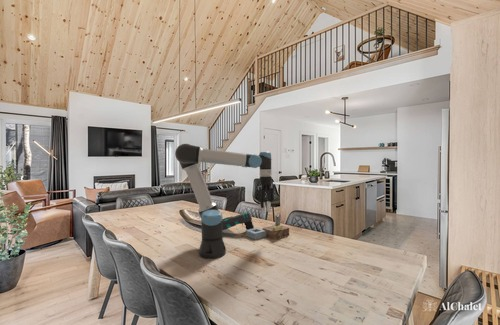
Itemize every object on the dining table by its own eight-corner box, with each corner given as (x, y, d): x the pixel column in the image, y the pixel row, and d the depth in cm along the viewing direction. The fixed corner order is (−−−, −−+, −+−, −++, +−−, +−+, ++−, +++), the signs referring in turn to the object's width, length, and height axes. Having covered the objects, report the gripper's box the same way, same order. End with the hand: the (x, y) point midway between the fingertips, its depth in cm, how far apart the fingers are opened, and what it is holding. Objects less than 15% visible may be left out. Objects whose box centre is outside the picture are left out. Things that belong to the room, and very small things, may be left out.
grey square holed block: (255, 239, 159) (255, 233, 159) (245, 236, 167) (245, 230, 167) (266, 236, 165) (266, 230, 165) (257, 233, 173) (256, 227, 173)
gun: (255, 231, 173) (248, 211, 173) (216, 243, 174) (210, 224, 174) (255, 228, 180) (248, 209, 180) (218, 240, 181) (211, 221, 181)
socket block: (274, 239, 159) (274, 231, 159) (262, 235, 168) (262, 227, 168) (289, 235, 168) (289, 227, 168) (276, 231, 177) (276, 224, 177)
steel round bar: (277, 235, 167) (277, 216, 167) (274, 234, 169) (274, 215, 169) (281, 234, 169) (281, 216, 169) (277, 233, 172) (277, 215, 171)
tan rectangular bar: (274, 231, 159) (274, 227, 159) (272, 230, 161) (272, 226, 161) (282, 229, 164) (282, 225, 164) (280, 228, 165) (280, 225, 165)
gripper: (259, 177, 147) (259, 215, 148) (279, 175, 158) (279, 211, 158) (251, 176, 153) (252, 213, 154) (271, 175, 164) (271, 209, 164)
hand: (266, 212), depth 156 cm, fingers open, 4 cm apart
